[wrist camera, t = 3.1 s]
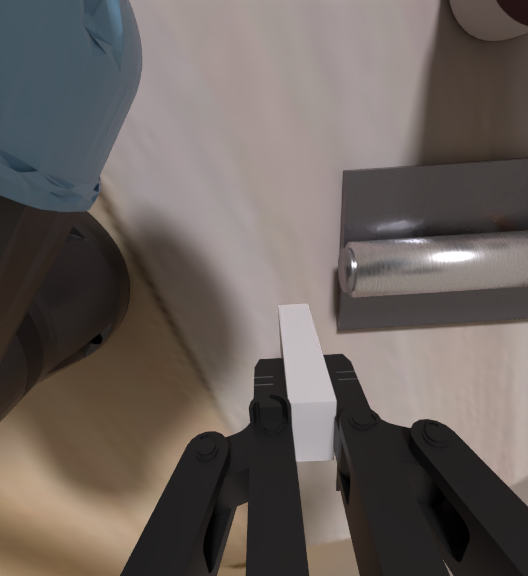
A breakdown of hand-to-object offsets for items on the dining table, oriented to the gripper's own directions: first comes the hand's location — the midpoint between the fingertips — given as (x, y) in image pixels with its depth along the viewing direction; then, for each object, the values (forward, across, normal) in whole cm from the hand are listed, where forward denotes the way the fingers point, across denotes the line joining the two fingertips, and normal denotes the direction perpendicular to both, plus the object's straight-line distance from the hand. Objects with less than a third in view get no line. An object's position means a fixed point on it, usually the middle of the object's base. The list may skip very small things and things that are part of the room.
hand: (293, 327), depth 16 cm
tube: (+9, +13, 0) cm, 16 cm away
